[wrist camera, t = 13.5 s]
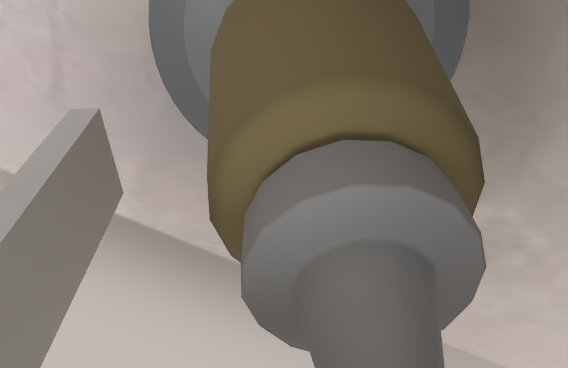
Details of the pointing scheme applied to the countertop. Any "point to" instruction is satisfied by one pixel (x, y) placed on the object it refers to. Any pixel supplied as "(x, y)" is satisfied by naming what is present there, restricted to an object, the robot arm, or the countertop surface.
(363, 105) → the squeeze bottle
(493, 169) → the countertop surface
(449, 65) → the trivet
